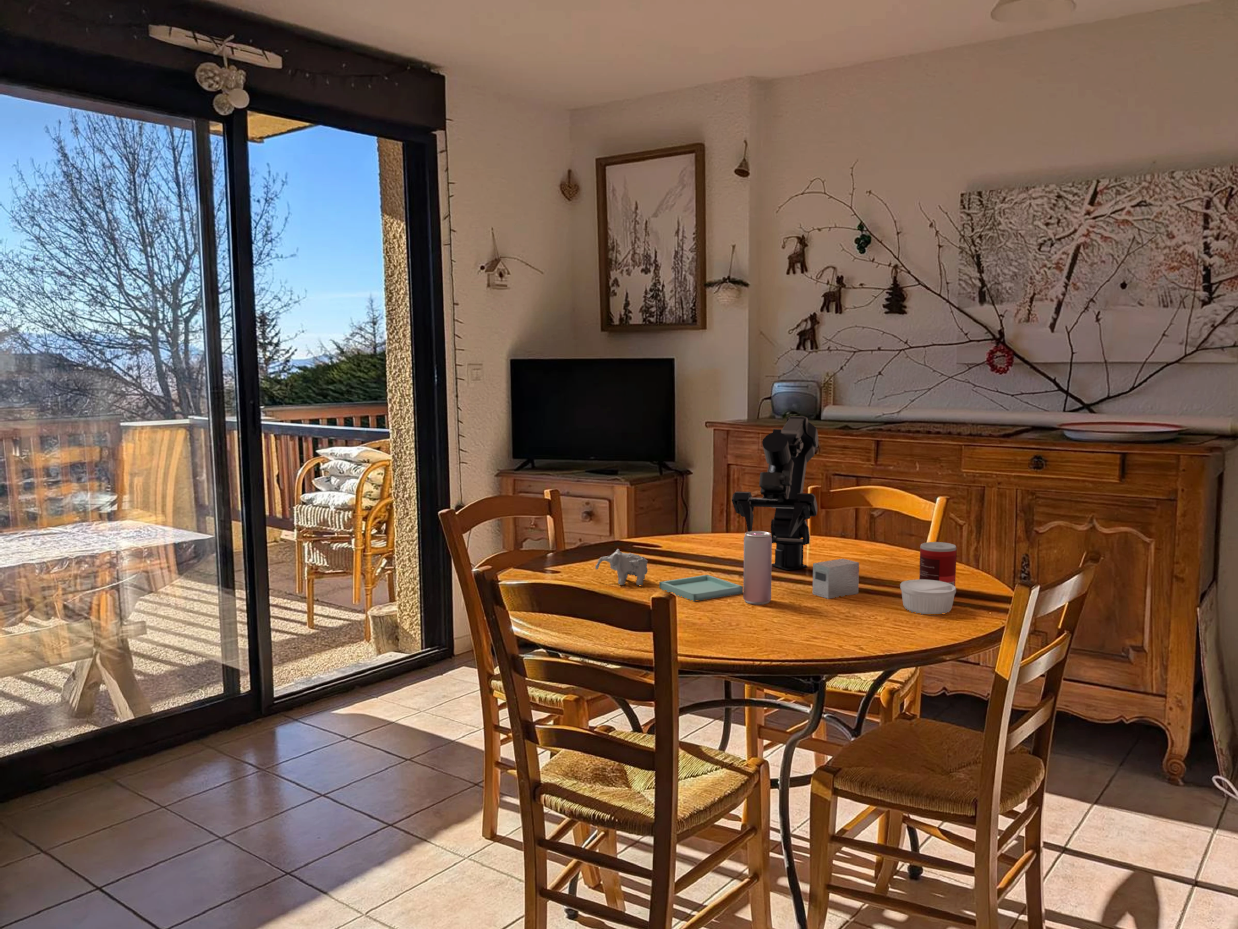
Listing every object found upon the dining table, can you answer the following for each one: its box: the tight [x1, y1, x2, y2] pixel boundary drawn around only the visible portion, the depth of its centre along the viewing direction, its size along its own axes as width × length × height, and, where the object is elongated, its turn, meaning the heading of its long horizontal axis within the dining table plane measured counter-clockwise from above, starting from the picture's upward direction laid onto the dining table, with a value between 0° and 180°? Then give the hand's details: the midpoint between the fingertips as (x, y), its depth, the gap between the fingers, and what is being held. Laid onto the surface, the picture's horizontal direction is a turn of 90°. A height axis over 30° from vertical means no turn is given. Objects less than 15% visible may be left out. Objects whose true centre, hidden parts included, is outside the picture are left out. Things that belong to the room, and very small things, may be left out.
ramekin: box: [899, 579, 957, 615], centre depth 207 cm, size 11×11×5 cm
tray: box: [658, 574, 743, 602], centre depth 224 cm, size 14×14×2 cm
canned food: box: [919, 541, 957, 587], centre depth 220 cm, size 8×8×11 cm
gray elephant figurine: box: [595, 548, 649, 586], centre depth 231 cm, size 9×12×8 cm
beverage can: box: [742, 530, 773, 606], centre depth 214 cm, size 6×6×15 cm
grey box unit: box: [812, 558, 860, 600], centre depth 220 cm, size 10×5×7 cm, turn 121°
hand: (769, 535), depth 221 cm, fingers open, 9 cm apart
